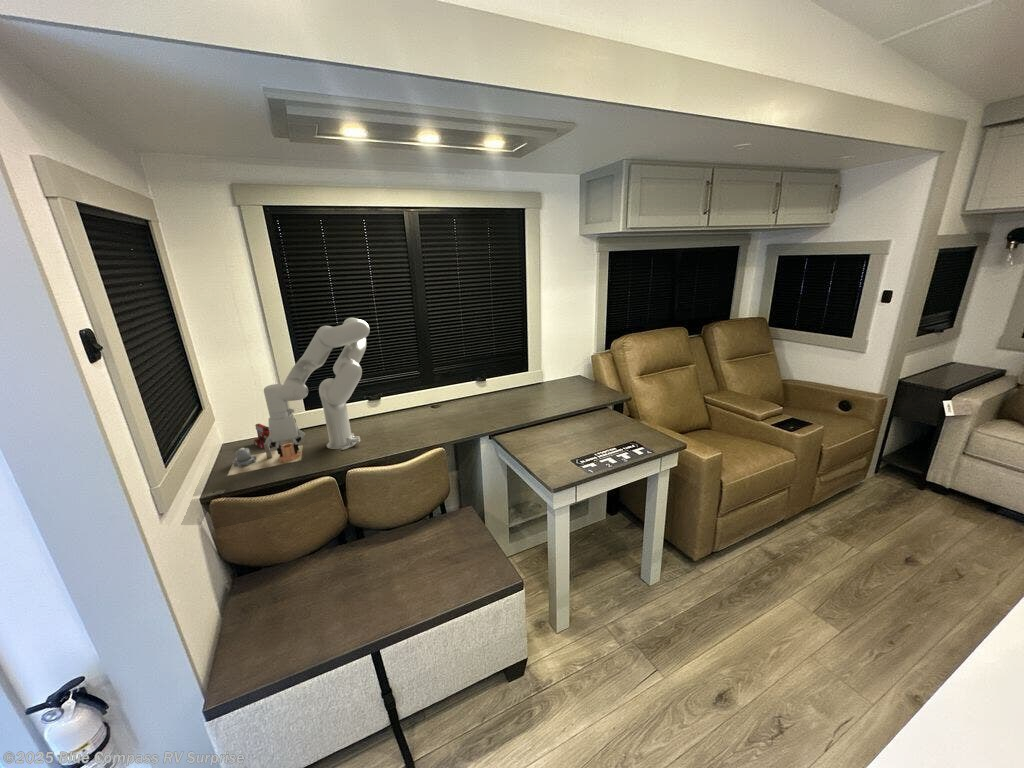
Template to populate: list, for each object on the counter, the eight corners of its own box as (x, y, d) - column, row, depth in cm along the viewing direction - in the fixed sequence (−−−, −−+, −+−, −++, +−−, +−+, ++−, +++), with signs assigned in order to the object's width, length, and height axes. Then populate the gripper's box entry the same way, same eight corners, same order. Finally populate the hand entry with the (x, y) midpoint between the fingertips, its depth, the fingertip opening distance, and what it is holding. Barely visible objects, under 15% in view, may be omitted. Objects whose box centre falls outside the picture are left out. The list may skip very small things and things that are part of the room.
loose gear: (300, 451, 169) (298, 440, 167) (299, 459, 162) (297, 447, 161) (280, 455, 166) (277, 444, 164) (278, 463, 159) (275, 451, 158)
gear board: (303, 447, 176) (299, 431, 173) (301, 462, 162) (298, 445, 160) (235, 461, 165) (230, 443, 163) (228, 478, 151) (222, 459, 149)
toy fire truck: (266, 452, 172) (261, 431, 169) (253, 446, 179) (247, 425, 176) (282, 446, 178) (277, 425, 175) (268, 440, 184) (264, 420, 181)
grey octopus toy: (257, 456, 166) (253, 442, 164) (254, 464, 159) (251, 450, 157) (236, 461, 163) (232, 447, 161) (232, 469, 156) (228, 454, 154)
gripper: (303, 407, 165) (311, 445, 170) (257, 415, 158) (267, 454, 163) (302, 413, 158) (311, 452, 164) (254, 421, 152) (264, 462, 157)
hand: (289, 453), depth 164 cm, fingers closed on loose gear, 5 cm apart
